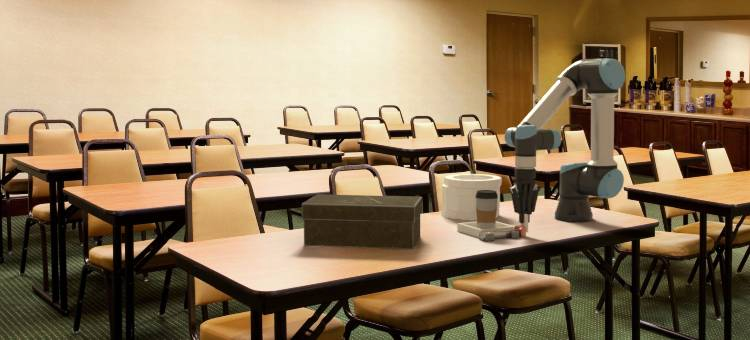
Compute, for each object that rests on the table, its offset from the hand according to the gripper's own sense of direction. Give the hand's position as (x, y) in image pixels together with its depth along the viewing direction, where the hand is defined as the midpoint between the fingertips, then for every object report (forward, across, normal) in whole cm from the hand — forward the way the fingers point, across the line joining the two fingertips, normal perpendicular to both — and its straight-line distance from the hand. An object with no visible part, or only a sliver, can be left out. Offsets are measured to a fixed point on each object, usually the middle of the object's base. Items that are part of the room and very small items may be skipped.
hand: (524, 231), depth 289 cm
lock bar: (+2, +11, 0) cm, 11 cm away
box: (+2, +56, -19) cm, 59 cm away
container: (+2, -8, -46) cm, 47 cm away
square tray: (+2, +9, -11) cm, 14 cm away
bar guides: (+2, +11, 0) cm, 11 cm away
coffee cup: (+1, +9, -11) cm, 14 cm away
